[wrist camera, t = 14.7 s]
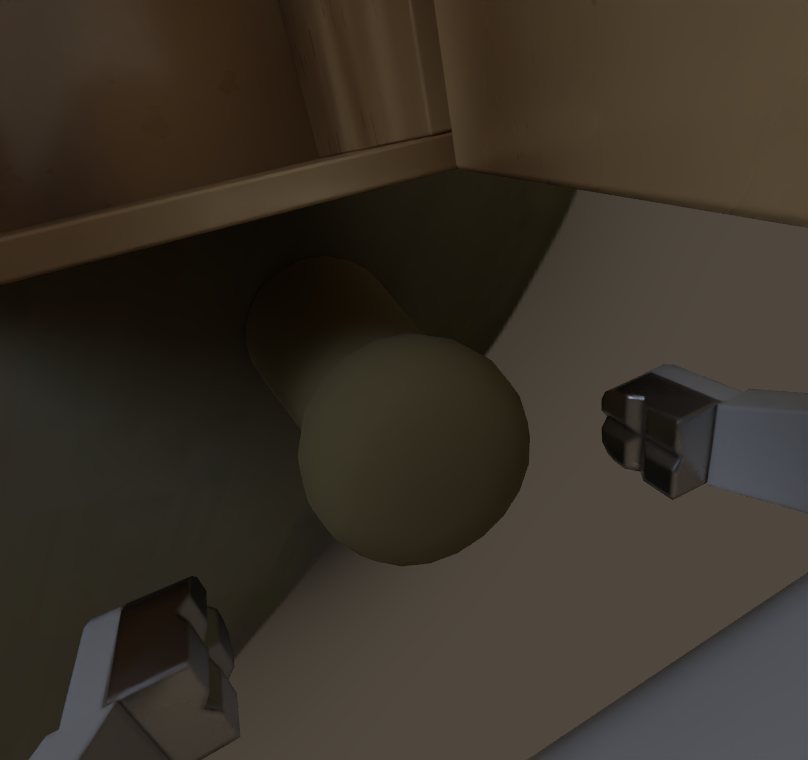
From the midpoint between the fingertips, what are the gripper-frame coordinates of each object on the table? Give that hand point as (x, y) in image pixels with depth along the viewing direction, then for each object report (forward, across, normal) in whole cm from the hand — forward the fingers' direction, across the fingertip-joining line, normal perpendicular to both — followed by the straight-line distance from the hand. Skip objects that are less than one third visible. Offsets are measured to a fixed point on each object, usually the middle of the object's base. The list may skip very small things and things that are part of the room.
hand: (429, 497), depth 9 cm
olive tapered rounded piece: (+11, -1, 0) cm, 11 cm away
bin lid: (-6, 0, -12) cm, 13 cm away
